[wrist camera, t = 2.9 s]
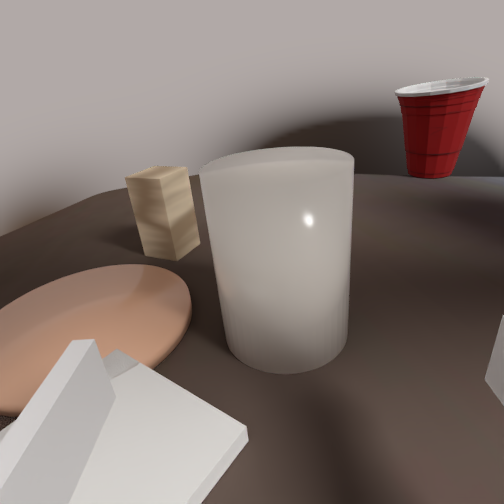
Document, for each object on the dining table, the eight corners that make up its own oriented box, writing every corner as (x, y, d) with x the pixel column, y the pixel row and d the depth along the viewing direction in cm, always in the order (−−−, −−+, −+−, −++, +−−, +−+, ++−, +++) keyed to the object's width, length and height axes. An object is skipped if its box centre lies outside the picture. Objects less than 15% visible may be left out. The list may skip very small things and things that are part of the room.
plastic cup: (374, 169, 55) (379, 85, 50) (438, 160, 56) (450, 77, 51) (414, 188, 46) (426, 86, 40) (490, 177, 47) (511, 76, 41)
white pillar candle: (371, 323, 23) (384, 153, 18) (292, 398, 18) (280, 196, 13) (281, 283, 29) (271, 143, 24) (201, 333, 24) (169, 172, 19)
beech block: (200, 243, 37) (186, 167, 33) (177, 261, 34) (159, 179, 30) (169, 239, 39) (154, 166, 35) (145, 255, 35) (124, 177, 32)
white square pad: (248, 440, 16) (246, 426, 16) (29, 730, 10) (14, 719, 9) (121, 360, 22) (116, 348, 22) (-76, 506, 15) (-88, 493, 15)
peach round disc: (234, 317, 25) (232, 306, 24) (-12, 476, 16) (-22, 462, 16) (135, 258, 35) (132, 249, 35) (-50, 335, 26) (-56, 324, 26)
